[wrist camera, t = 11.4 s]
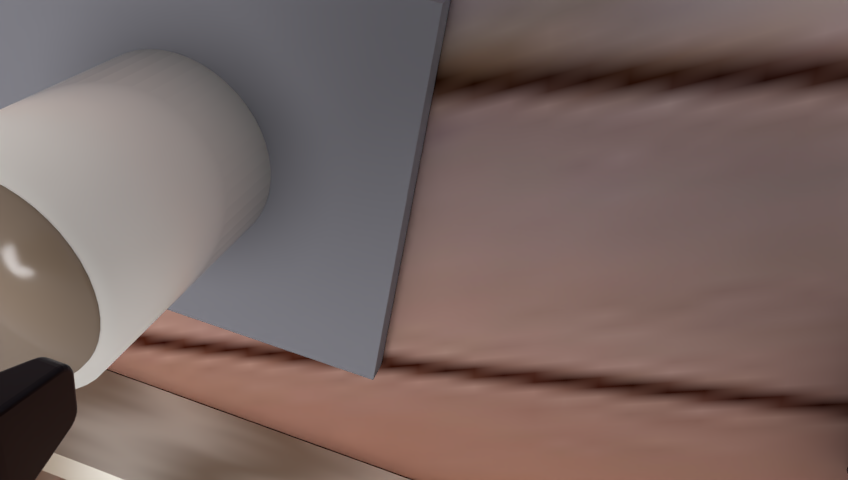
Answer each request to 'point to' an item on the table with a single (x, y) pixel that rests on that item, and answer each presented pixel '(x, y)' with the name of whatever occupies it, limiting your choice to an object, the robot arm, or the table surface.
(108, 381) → the beige square frame
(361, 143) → the mat
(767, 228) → the table surface
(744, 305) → the table surface
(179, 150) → the pot
